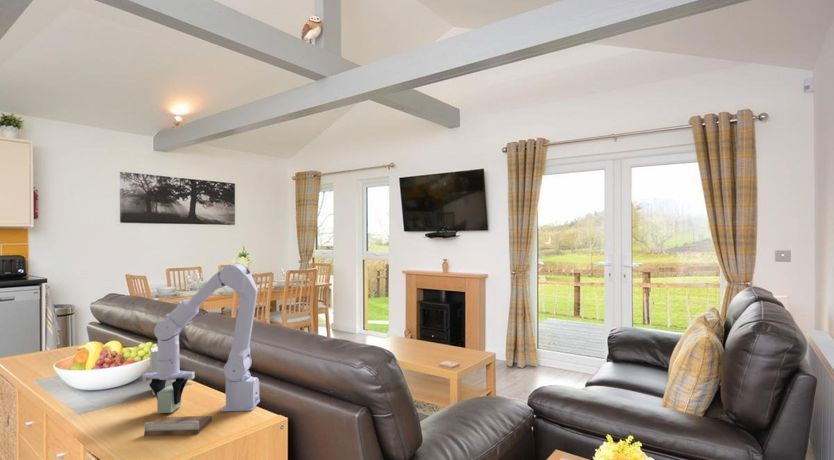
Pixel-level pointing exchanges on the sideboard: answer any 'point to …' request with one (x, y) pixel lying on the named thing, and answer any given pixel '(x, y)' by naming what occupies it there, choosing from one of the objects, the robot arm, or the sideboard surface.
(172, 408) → the product carton
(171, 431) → the shelf board
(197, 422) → the rail
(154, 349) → the skincare box
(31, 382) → the sideboard surface
